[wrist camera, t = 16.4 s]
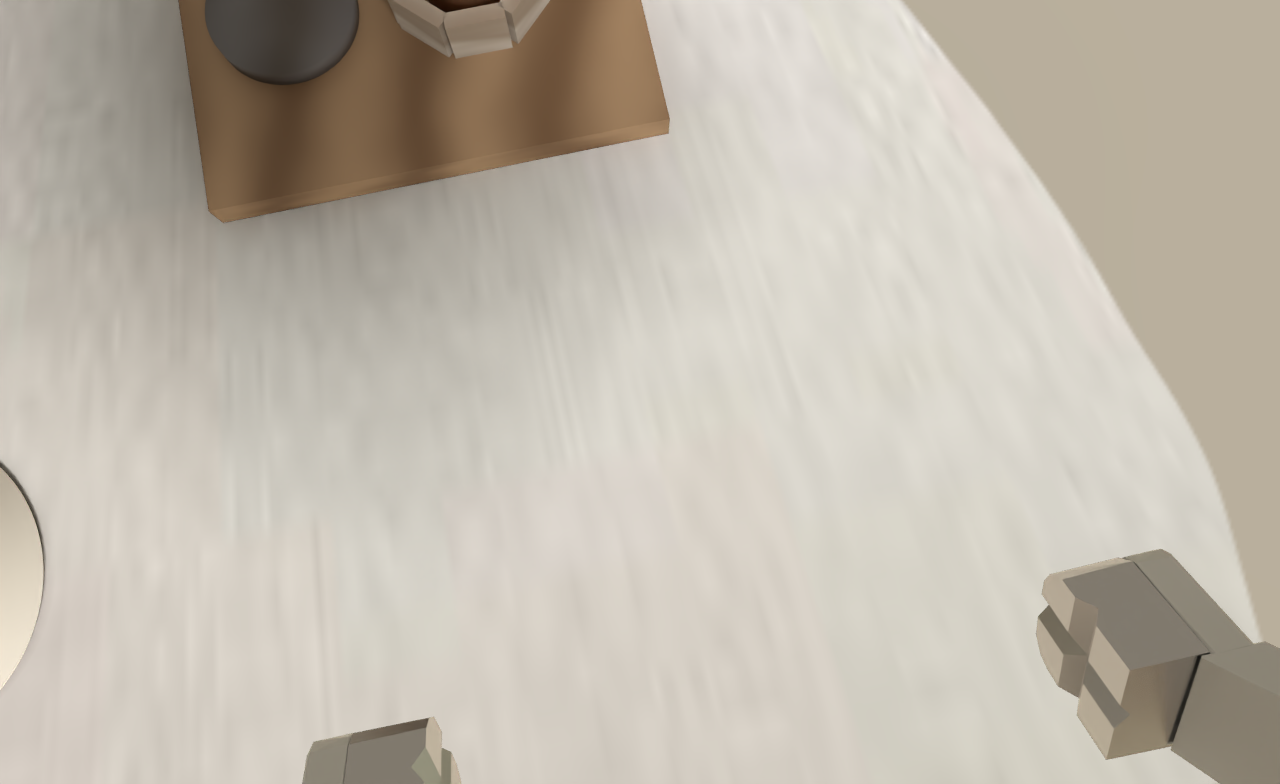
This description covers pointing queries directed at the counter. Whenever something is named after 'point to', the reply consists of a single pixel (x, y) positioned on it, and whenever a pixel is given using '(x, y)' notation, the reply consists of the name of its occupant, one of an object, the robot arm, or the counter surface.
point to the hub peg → (459, 4)
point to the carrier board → (405, 92)
